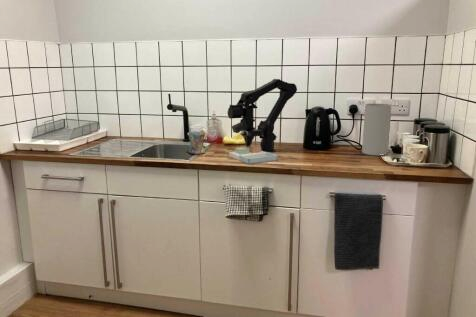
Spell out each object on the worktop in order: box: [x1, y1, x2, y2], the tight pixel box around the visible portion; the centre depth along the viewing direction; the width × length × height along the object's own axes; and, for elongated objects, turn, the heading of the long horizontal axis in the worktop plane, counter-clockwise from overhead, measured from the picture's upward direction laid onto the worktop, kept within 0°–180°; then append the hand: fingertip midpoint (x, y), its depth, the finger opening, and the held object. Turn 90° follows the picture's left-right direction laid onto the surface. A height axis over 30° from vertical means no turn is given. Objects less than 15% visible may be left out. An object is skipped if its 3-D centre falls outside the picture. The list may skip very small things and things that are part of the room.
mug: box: [187, 131, 206, 155], centre depth 206 cm, size 12×9×11 cm
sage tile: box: [234, 146, 249, 155], centre depth 198 cm, size 5×5×2 cm
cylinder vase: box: [361, 103, 393, 157], centre depth 203 cm, size 12×12×25 cm
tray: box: [238, 152, 279, 165], centre depth 191 cm, size 16×9×2 cm, turn 118°
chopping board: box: [228, 150, 267, 161], centre depth 200 cm, size 16×11×2 cm
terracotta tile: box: [248, 145, 261, 153], centre depth 201 cm, size 5×5×2 cm
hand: (247, 147), depth 207 cm, fingers closed
